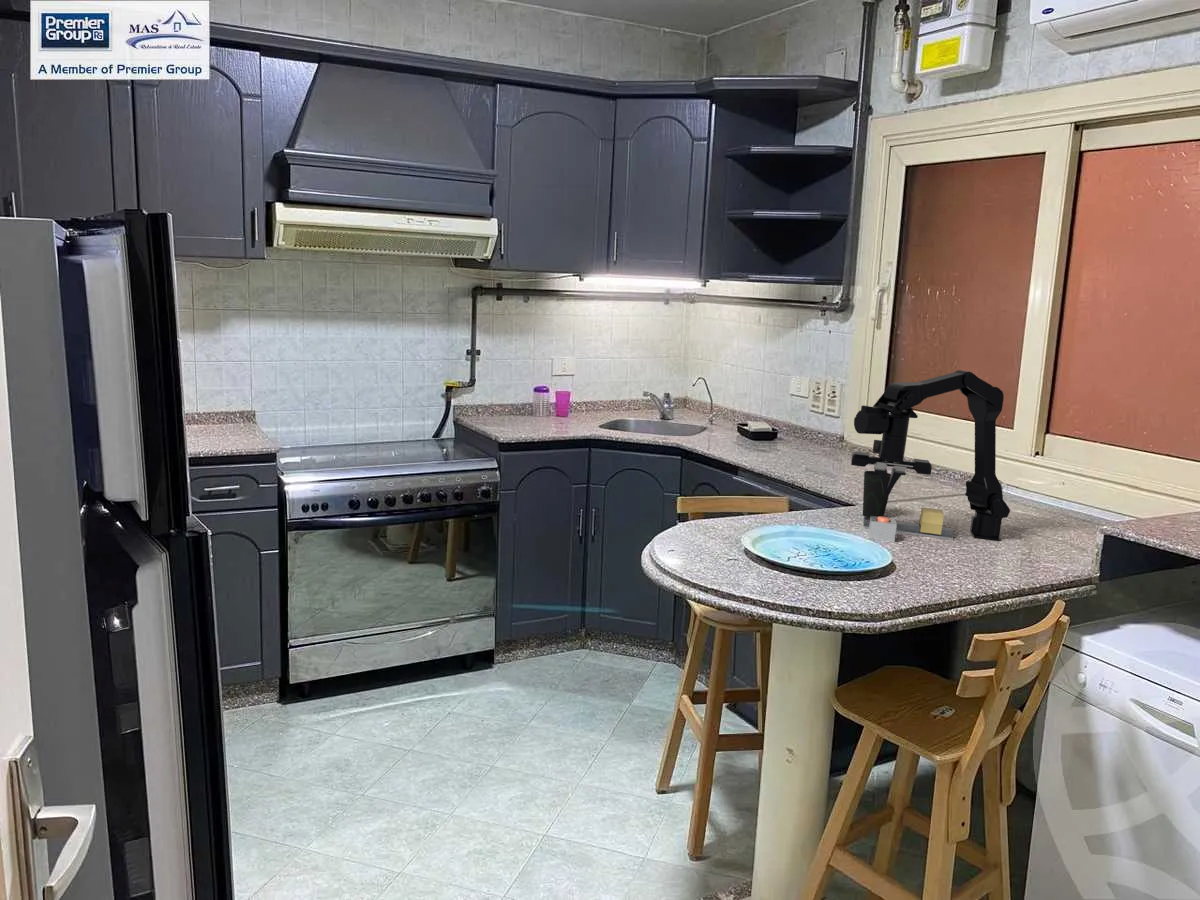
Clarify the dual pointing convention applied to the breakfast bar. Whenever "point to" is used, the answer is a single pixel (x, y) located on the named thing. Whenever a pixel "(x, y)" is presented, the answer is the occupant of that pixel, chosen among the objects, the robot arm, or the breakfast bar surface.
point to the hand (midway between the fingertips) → (885, 497)
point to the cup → (874, 494)
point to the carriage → (931, 520)
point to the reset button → (883, 519)
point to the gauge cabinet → (882, 529)
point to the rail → (915, 529)
